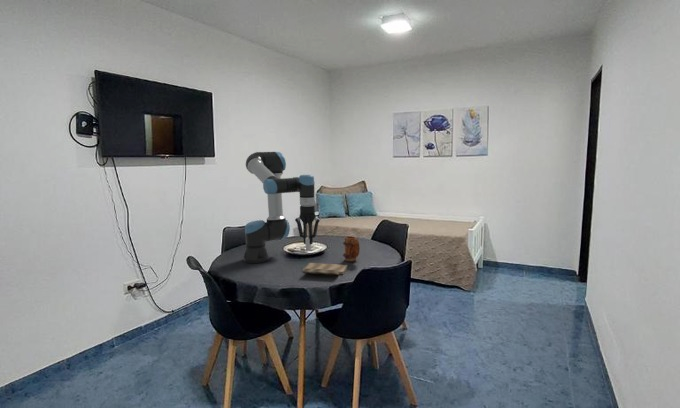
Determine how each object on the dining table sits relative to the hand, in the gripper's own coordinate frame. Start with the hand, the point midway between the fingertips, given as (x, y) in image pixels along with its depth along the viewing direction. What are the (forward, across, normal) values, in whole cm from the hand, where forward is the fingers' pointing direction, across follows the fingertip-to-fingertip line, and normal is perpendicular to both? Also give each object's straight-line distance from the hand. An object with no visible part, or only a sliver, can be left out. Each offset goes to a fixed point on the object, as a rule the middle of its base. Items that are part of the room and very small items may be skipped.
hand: (308, 250), depth 193 cm
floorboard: (+14, +6, +12) cm, 20 cm away
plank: (+13, +6, +2) cm, 14 cm away
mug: (+15, +18, +30) cm, 38 cm away
